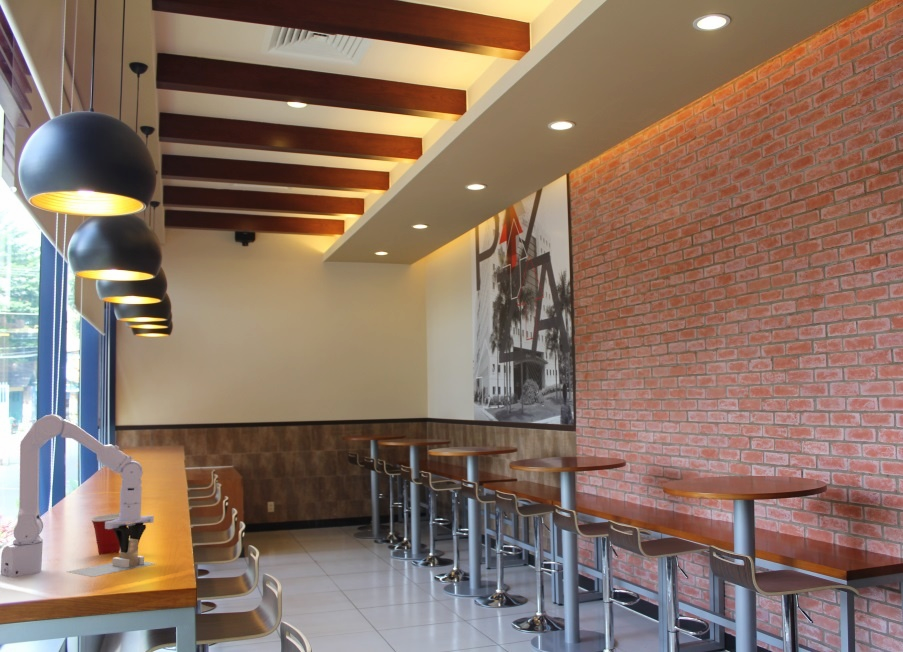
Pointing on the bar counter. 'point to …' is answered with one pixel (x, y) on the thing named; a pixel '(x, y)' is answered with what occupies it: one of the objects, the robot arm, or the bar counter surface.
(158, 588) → the bar counter surface
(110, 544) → the plastic cup
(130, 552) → the wooden block
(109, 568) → the clip board
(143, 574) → the bar counter surface
